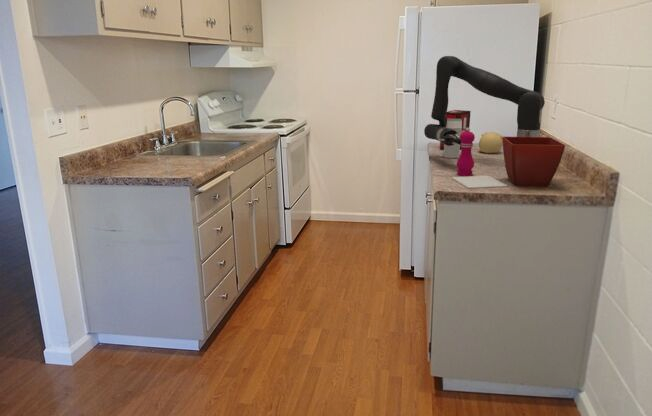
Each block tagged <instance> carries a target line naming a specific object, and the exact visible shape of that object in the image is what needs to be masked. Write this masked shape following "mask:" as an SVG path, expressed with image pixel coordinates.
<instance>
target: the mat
mask: <svg viewBox="0 0 652 416" xmlns="http://www.w3.org/2000/svg"><path fill="white" fill-rule="evenodd" d="M450 179H452V180H453V181H455V182H456V183H458V184H460V185H461V186H463V187H465V188H467V189H488V188H508V187H509V186H508V184H505V183H503V182H501V181H499V180H498V179H495V178H493V177H491V176H490V175H471V176H450Z"/></svg>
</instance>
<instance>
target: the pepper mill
mask: <svg viewBox="0 0 652 416" xmlns="http://www.w3.org/2000/svg"><path fill="white" fill-rule="evenodd" d="M475 137H476V135H475V134H474V132H472V131H471V129H470V127H469V128H466V131H465V132H463V133H461V135H460V141H461V142H462V143H461V145H460V146H461V151H460V153H459V158H457V160H456V167H457V170H456V171H457V172H456V174H457V176H459V177H465V176H473V168H474V167H475V161H474V158H473V154H472V147H474V143H473V142H474V141H475Z"/></svg>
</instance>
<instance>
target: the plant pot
mask: <svg viewBox="0 0 652 416" xmlns="http://www.w3.org/2000/svg"><path fill="white" fill-rule="evenodd" d="M565 148H566V144H564V143H562V141H561V142H560V141H558V140H557V139H555V138H553V137H549V136H546V137H545V136H544V137H543V136H539V137H517V136H503V144H502V152H503V153H502V154H503V159H504V160H503V161H504V167H505V170H506V175H507V178H508V180H509V181H510V182H511V183H512V184H513V185H514V186H525V187H529V186H530V187H548V186H549V185H550V183H551V182H552V180H553V178H554V176H555V175H556V172H557V170H558V168H559V165H560V163H561V160H562V157H563V154H564V151H565Z"/></svg>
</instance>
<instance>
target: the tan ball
mask: <svg viewBox="0 0 652 416" xmlns="http://www.w3.org/2000/svg"><path fill="white" fill-rule="evenodd" d="M503 137H504V136H503V134H499V133H497V132H494V131H491V132H484V133H482V134H481V137H480V138H479V142H478V149H479V150H480V151H481V152H482V153H486V154H496V153H499V152H500V151H501V149H502V148H503Z"/></svg>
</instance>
